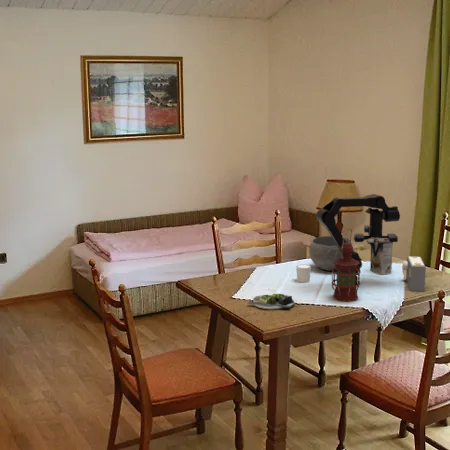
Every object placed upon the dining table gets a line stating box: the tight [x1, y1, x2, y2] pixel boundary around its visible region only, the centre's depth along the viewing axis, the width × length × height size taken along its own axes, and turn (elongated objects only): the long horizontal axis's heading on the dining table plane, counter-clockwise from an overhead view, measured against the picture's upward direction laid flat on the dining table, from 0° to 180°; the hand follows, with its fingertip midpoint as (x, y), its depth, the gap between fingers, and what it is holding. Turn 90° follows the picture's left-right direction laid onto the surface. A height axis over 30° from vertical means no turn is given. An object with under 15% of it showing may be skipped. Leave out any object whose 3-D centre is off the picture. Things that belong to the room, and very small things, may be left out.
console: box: [405, 256, 426, 292], centre depth 285 cm, size 6×18×12 cm, turn 170°
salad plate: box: [247, 293, 295, 311], centre depth 263 cm, size 19×18×5 cm
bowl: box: [308, 235, 350, 272], centre depth 314 cm, size 20×20×15 cm
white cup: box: [295, 264, 312, 284], centre depth 295 cm, size 7×7×7 cm
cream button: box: [402, 260, 408, 271], centre depth 291 cm, size 3×4×4 cm
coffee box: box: [369, 240, 394, 276], centre depth 307 cm, size 9×6×16 cm
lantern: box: [331, 228, 362, 303], centre depth 267 cm, size 12×12×30 cm
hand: (375, 256), depth 287 cm, fingers closed
